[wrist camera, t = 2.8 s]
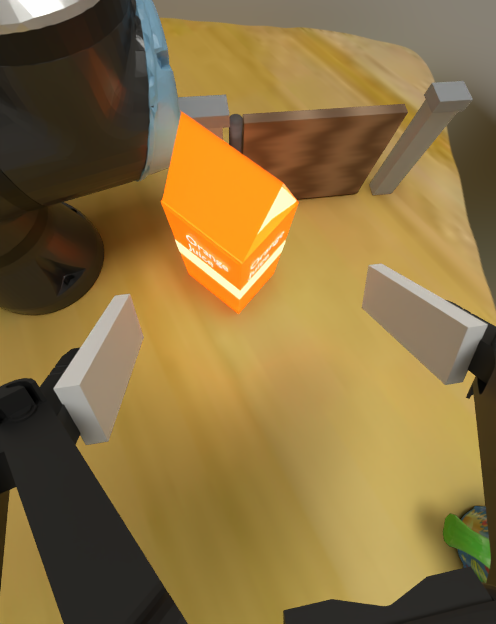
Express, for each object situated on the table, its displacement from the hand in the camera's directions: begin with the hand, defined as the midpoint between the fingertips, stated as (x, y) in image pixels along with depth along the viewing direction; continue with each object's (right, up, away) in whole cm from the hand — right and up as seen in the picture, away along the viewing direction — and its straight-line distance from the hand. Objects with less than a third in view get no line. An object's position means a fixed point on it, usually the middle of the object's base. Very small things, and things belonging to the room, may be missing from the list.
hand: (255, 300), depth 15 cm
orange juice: (-3, +5, +22) cm, 22 cm away
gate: (+6, +17, +25) cm, 31 cm away
